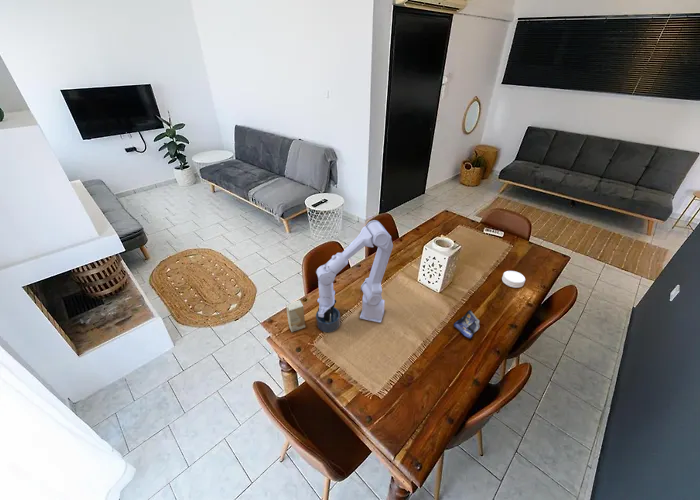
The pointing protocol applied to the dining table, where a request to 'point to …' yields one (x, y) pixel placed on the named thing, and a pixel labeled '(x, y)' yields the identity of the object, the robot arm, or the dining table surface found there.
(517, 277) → the white round disc
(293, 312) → the cosmetic box
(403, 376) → the dining table surface
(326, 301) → the robot arm
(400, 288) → the dining table surface
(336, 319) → the holder
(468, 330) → the snack package
